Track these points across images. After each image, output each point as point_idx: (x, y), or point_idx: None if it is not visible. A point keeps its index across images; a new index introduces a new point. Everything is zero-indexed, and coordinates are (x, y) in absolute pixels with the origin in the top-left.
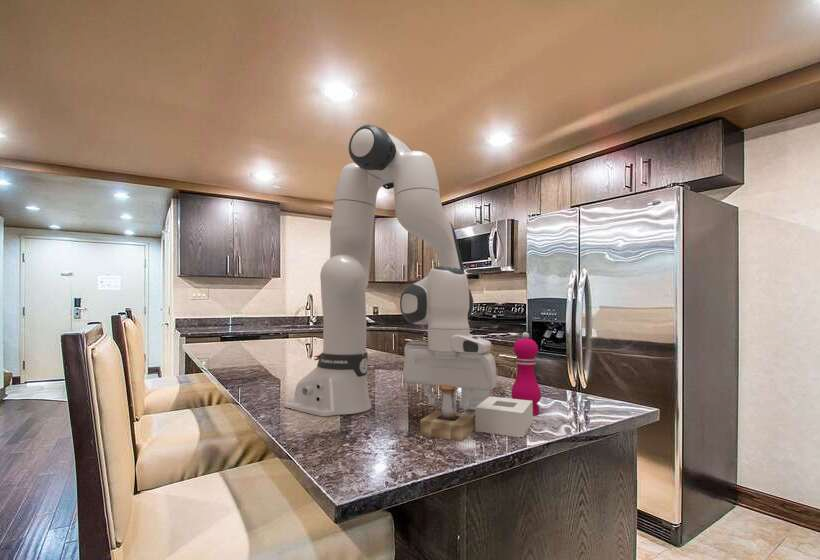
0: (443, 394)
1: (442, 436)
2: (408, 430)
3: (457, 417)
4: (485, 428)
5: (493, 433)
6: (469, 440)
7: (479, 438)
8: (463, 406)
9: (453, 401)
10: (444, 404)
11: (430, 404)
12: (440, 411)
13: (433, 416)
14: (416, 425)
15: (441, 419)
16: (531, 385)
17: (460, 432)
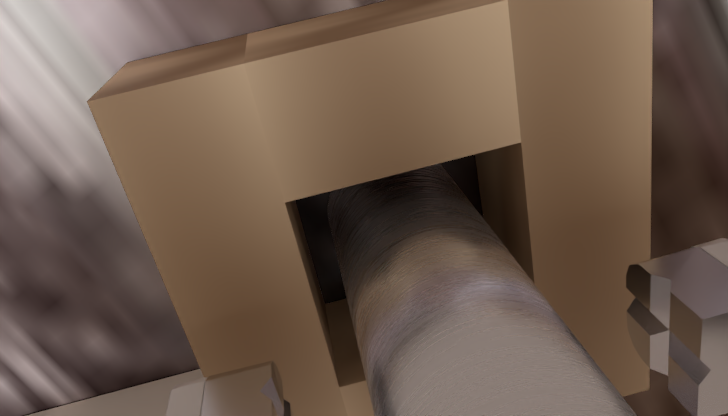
0: (577, 398)
1: (334, 17)
2: (722, 8)
3: None
4: (125, 412)
5: (62, 406)
6: (95, 136)
7: (68, 242)
8: (206, 400)
9: (382, 406)
10: (485, 290)
11: (702, 247)
12: None
13: (580, 202)
14: (711, 177)
15: (473, 207)
16: None
17: (124, 75)
